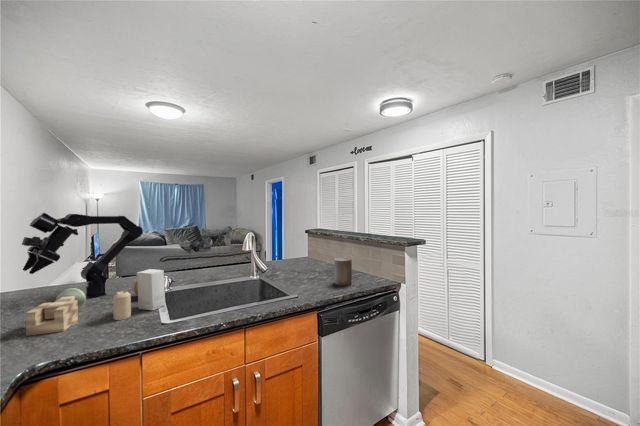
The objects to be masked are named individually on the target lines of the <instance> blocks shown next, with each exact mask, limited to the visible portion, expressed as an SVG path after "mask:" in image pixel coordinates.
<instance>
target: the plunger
mask: <svg viewBox="0 0 640 426" xmlns="http://www.w3.org/2000/svg"><path fill="white" fill-rule="evenodd" d="M71 300H78V310H80V309H82V308H83V306H84V305H85V304H86V302H87V301H86V300H87V296H86V292H84V291H83V290H81V289H79V288H76V287H75V288H74V287H71V288H66V289H65V290H63V291H61V292H60V293H59V294H58V295H57V296H56V297H55V301H54V302H52V304H50V305H48V306H47V307H45V308H44V315H45V319H51V318H54V310H56V309H57V308H59V307H60V306H62V305H63V304H65V303H66V302H68V301H71Z"/></svg>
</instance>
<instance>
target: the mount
mask: <svg viewBox="0 0 640 426" xmlns="http://www.w3.org/2000/svg"><path fill="white" fill-rule="evenodd" d="M52 303H53V302H51V301H50V302H43V303H41V304H39V305H37V306H36V307H34V308H32V309H29V311H27V312H25V336H34V335H41V334H42V335H43V334H51V333H59V332H65V331H66V330H67V329H68V328H69V327H71V326H72V325H74V323H76V322H77V321H78V320H79V309H78V300H71V301H68V302H66V303H65V304H63V305H62V306H60V307H59V308H57V309H56V310H54V318H51V319H45V315H44V308H45V307H47V306H48V305H50V304H52Z"/></svg>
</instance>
